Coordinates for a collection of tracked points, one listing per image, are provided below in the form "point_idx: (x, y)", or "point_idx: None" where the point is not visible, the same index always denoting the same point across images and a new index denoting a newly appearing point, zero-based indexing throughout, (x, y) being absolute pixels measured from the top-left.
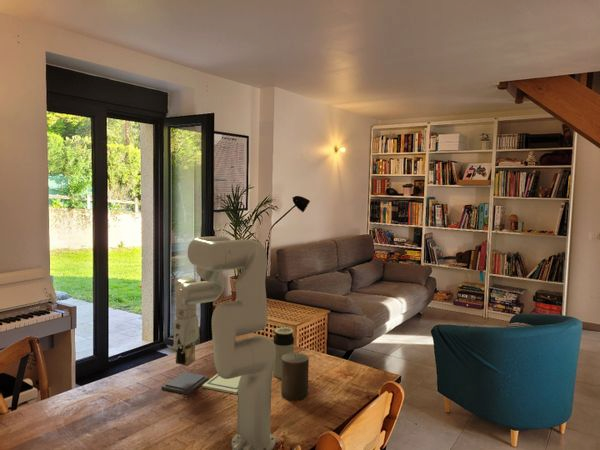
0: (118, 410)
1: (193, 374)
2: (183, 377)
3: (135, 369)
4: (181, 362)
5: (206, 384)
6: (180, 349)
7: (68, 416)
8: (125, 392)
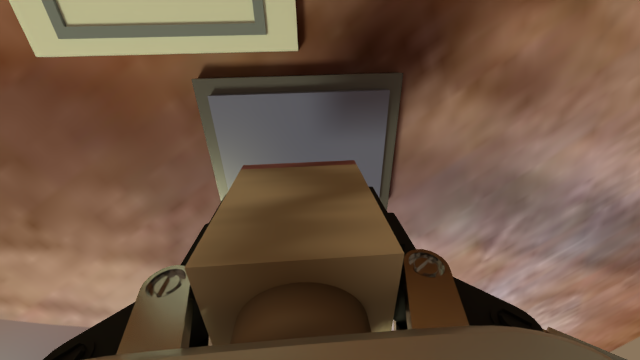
0: (555, 222)
1: (232, 160)
2: None
3: None
4: None
5: (278, 30)
6: (503, 314)
7: (586, 295)
8: None
